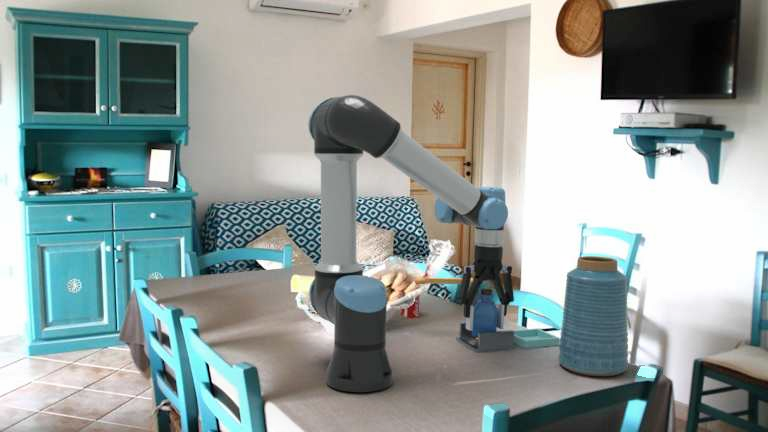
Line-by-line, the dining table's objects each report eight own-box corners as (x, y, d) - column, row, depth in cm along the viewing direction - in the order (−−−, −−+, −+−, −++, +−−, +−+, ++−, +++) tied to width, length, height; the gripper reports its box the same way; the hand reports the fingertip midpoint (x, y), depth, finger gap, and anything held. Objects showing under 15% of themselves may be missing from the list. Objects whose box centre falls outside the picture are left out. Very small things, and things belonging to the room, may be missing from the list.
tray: (559, 347, 188) (559, 338, 188) (524, 350, 184) (525, 340, 184) (538, 337, 198) (538, 328, 198) (504, 339, 194) (505, 331, 194)
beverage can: (413, 322, 213) (414, 283, 211) (396, 319, 215) (397, 281, 214) (422, 318, 218) (423, 280, 217) (405, 316, 220) (406, 278, 219)
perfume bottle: (495, 337, 184) (497, 292, 183) (471, 335, 186) (474, 291, 185) (496, 332, 190) (498, 288, 190) (473, 330, 192) (475, 286, 191)
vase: (598, 355, 181) (603, 253, 179) (642, 374, 166) (648, 262, 163) (544, 361, 175) (548, 255, 173) (585, 381, 160) (590, 265, 157)
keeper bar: (415, 284, 194) (415, 278, 194) (415, 282, 197) (415, 276, 197) (477, 285, 194) (478, 279, 194) (476, 283, 197) (476, 277, 197)
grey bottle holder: (513, 349, 185) (515, 294, 183) (475, 352, 181) (477, 297, 180) (484, 334, 200) (486, 283, 199) (449, 337, 196) (450, 285, 195)
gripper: (516, 243, 193) (512, 323, 195) (446, 243, 186) (442, 327, 188) (530, 246, 186) (526, 330, 188) (458, 247, 179) (454, 334, 181)
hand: (484, 328), depth 188 cm, fingers closed on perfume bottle, 8 cm apart
